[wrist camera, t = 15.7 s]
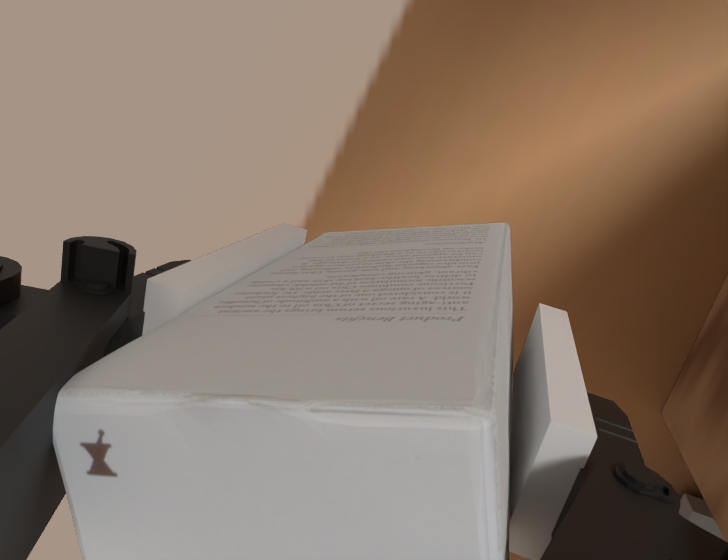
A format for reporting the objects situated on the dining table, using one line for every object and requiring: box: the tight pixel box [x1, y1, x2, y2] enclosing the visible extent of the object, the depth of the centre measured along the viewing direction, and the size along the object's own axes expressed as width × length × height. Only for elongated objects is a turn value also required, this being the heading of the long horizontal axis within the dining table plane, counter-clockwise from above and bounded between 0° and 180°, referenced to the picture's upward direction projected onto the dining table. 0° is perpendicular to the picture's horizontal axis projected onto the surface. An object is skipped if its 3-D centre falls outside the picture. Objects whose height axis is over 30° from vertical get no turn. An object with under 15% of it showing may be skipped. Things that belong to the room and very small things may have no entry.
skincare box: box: [53, 222, 513, 560], centre depth 13 cm, size 6×4×12 cm
